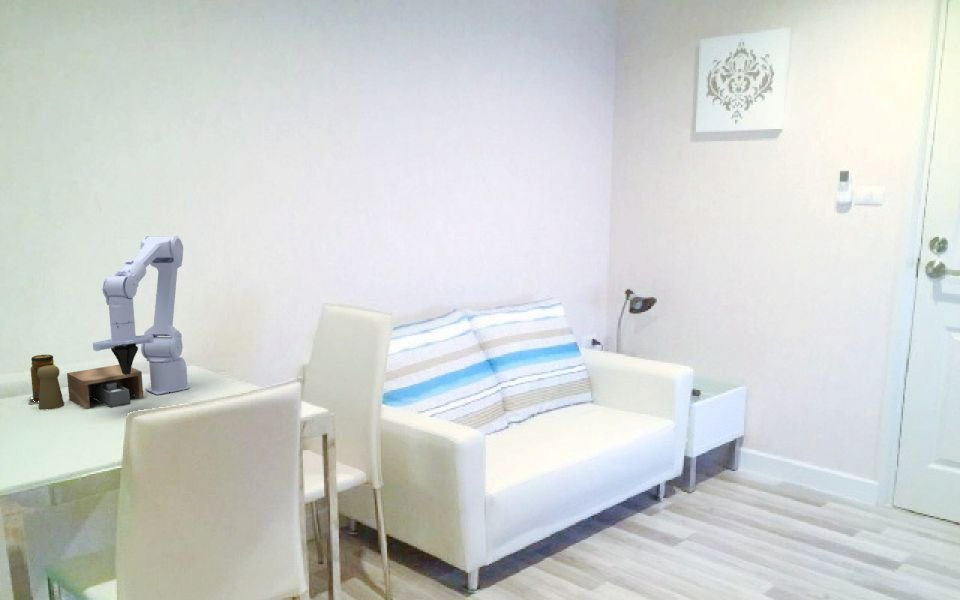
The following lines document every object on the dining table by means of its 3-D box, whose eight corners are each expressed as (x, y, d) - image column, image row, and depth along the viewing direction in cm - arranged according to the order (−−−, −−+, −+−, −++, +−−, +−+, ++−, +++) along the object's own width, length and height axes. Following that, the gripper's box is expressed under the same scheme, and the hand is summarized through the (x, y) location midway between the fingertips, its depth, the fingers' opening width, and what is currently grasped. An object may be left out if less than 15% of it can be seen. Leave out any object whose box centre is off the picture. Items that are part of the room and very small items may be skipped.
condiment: (60, 394, 220) (56, 352, 218) (59, 401, 213) (55, 358, 211) (31, 397, 217) (27, 355, 215) (28, 405, 209) (24, 361, 208)
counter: (125, 389, 224) (123, 363, 223) (143, 397, 215) (141, 371, 214) (69, 399, 214) (66, 373, 213) (85, 409, 205) (83, 381, 204)
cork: (53, 410, 204) (49, 369, 203) (33, 409, 205) (29, 368, 204) (69, 403, 210) (66, 364, 208) (50, 402, 211) (46, 363, 210)
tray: (110, 394, 219) (109, 376, 219) (130, 403, 210) (128, 385, 209) (92, 397, 216) (90, 379, 215) (110, 407, 206) (109, 388, 205)
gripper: (98, 328, 192) (102, 381, 194) (157, 320, 202) (160, 371, 204) (88, 324, 197) (92, 376, 199) (146, 317, 207) (149, 366, 209)
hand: (126, 373), depth 202 cm, fingers closed
